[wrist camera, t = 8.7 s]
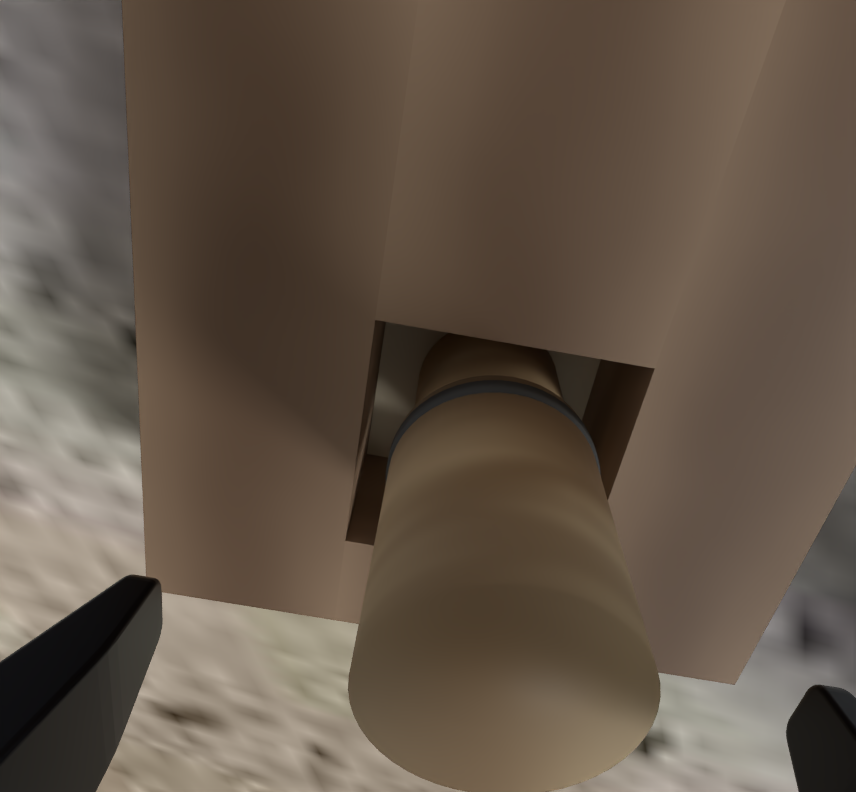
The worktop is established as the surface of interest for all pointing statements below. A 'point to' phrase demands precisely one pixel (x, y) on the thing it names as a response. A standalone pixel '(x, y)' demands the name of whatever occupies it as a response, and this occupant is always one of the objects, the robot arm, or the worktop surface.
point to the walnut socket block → (495, 277)
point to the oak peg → (499, 587)
